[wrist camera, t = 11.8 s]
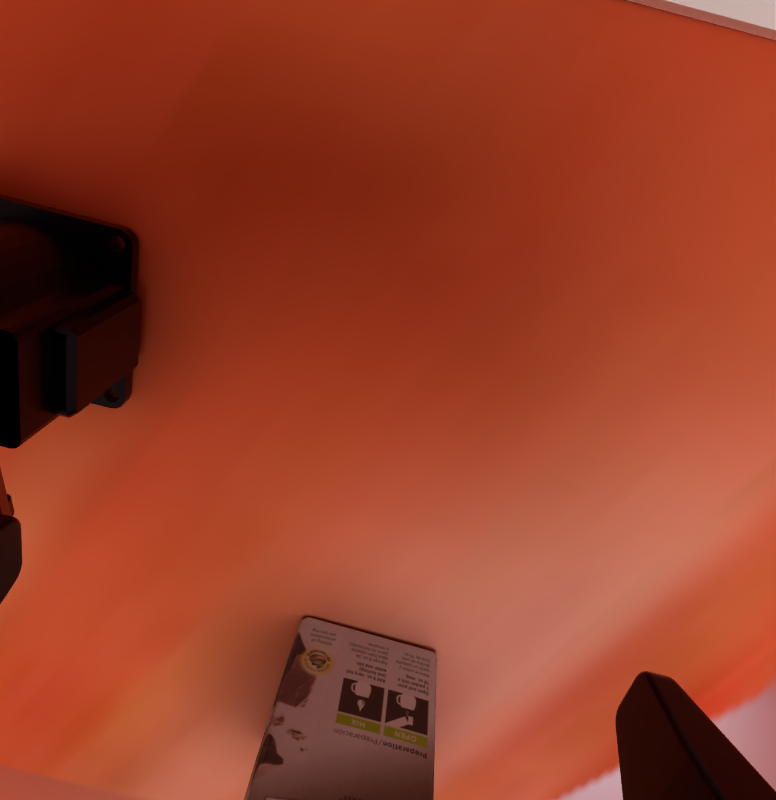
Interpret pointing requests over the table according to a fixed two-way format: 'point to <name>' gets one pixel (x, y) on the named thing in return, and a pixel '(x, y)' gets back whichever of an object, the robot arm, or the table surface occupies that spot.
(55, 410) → the robot arm
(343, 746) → the coffee box
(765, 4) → the seat board
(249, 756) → the table surface
